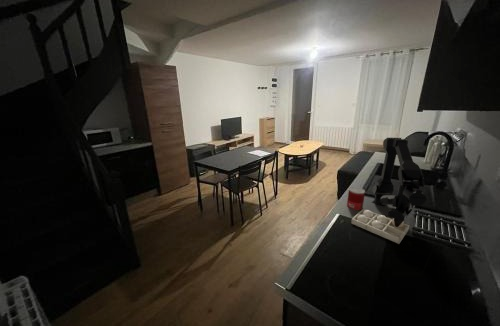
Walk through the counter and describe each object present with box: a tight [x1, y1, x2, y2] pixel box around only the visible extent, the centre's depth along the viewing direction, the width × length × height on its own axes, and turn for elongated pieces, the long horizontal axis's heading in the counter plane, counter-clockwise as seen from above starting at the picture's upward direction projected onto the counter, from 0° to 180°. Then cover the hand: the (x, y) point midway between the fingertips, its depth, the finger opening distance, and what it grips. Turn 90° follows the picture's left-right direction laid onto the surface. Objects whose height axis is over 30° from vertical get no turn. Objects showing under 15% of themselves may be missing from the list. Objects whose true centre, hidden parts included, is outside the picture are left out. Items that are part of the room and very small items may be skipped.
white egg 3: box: [371, 220, 383, 230], centre depth 96 cm, size 5×5×5 cm
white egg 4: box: [377, 214, 388, 224], centre depth 100 cm, size 5×5×5 cm
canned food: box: [346, 186, 366, 211], centre depth 115 cm, size 8×8×11 cm
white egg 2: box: [363, 209, 374, 218], centre depth 105 cm, size 5×5×5 cm
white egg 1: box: [357, 215, 368, 224], centre depth 101 cm, size 5×5×5 cm
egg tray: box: [351, 208, 410, 245], centre depth 99 cm, size 14×20×3 cm
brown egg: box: [391, 218, 405, 227], centre depth 95 cm, size 5×5×5 cm
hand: (398, 224), depth 95 cm, fingers closed on brown egg, 5 cm apart
